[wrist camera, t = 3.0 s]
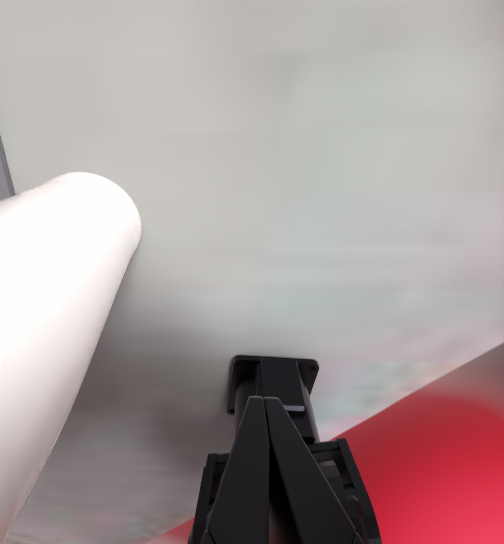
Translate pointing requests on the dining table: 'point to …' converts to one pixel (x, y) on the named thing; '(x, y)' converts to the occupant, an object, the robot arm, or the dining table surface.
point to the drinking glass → (53, 312)
